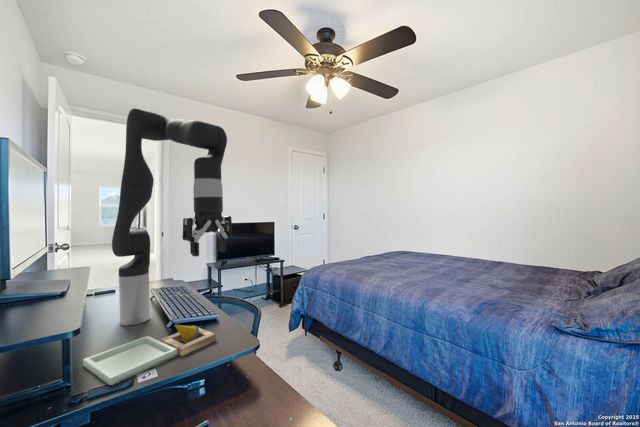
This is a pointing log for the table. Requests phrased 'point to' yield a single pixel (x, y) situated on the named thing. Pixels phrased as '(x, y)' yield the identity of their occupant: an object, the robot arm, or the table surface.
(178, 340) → the square wooden frame
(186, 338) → the yellow cone
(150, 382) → the table surface
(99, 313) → the table surface
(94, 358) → the tray
